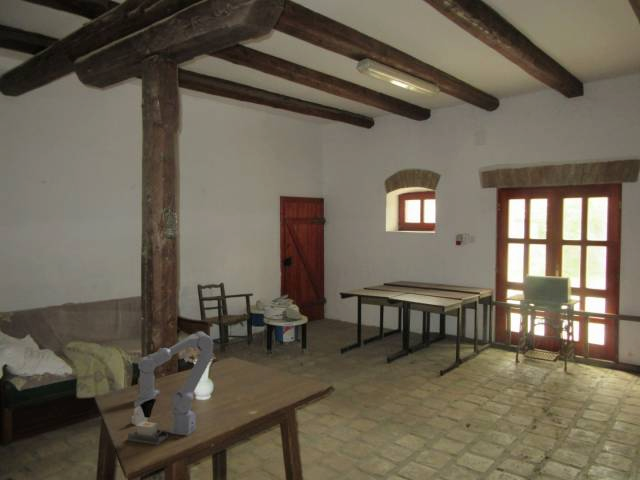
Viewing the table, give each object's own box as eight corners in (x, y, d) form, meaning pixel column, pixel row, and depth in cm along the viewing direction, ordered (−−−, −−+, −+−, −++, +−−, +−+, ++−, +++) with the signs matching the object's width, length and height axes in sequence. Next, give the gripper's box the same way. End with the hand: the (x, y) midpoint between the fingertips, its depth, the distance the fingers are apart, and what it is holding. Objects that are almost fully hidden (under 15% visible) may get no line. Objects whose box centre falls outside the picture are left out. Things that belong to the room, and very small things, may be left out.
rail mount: (168, 436, 205) (168, 430, 205) (157, 444, 198) (157, 438, 198) (138, 432, 209) (138, 426, 209) (127, 439, 202) (127, 434, 202)
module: (157, 434, 204) (156, 423, 204) (151, 439, 201) (151, 427, 200) (142, 432, 206) (142, 421, 206) (137, 436, 202) (136, 425, 202)
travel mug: (134, 402, 242) (134, 367, 240) (147, 396, 249) (146, 363, 248) (146, 405, 238) (145, 370, 237) (158, 399, 245) (157, 365, 244)
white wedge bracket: (156, 412, 223) (147, 400, 219) (139, 429, 217) (129, 416, 213) (151, 410, 225) (142, 398, 222) (134, 427, 219) (125, 414, 215)
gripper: (149, 378, 210) (149, 408, 211) (127, 390, 196) (128, 422, 197) (163, 380, 208) (163, 410, 209) (142, 392, 194) (143, 425, 195)
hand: (147, 416), depth 203 cm, fingers closed
